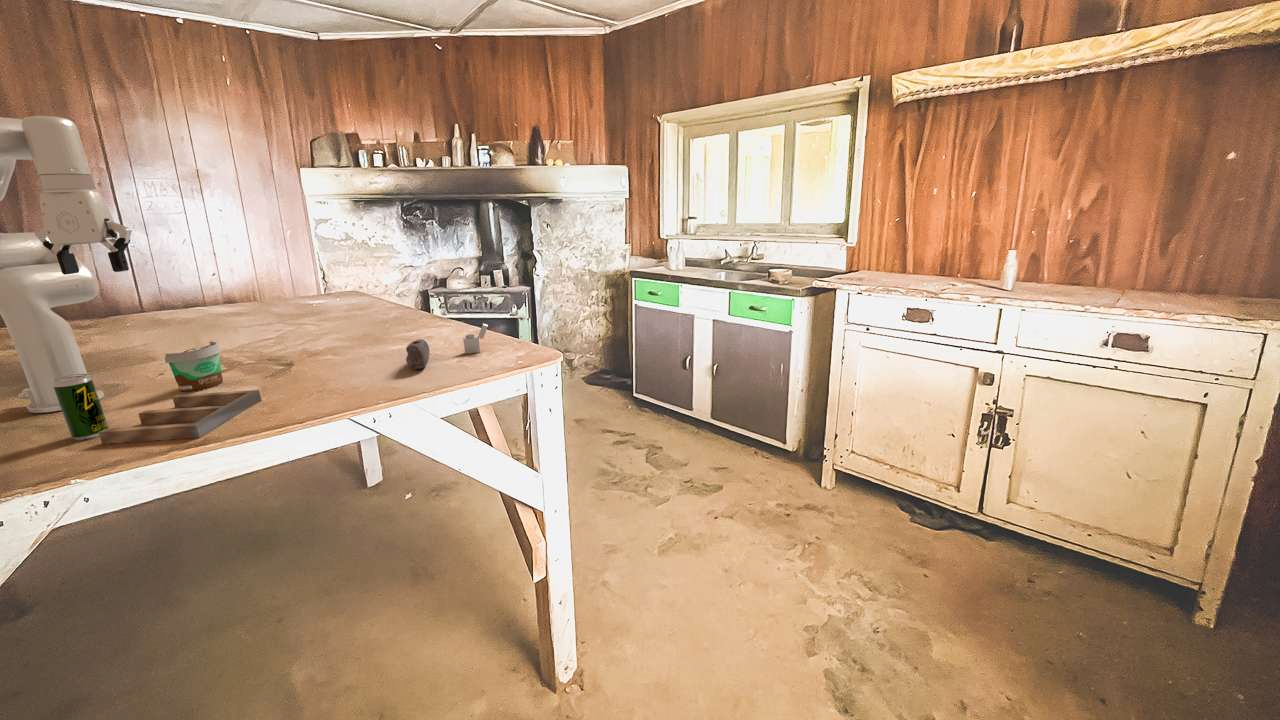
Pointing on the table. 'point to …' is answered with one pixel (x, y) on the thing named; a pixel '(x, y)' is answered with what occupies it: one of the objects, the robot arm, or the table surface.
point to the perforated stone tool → (417, 354)
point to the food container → (196, 368)
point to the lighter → (474, 341)
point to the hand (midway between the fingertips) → (96, 272)
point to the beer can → (80, 406)
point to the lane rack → (185, 417)
